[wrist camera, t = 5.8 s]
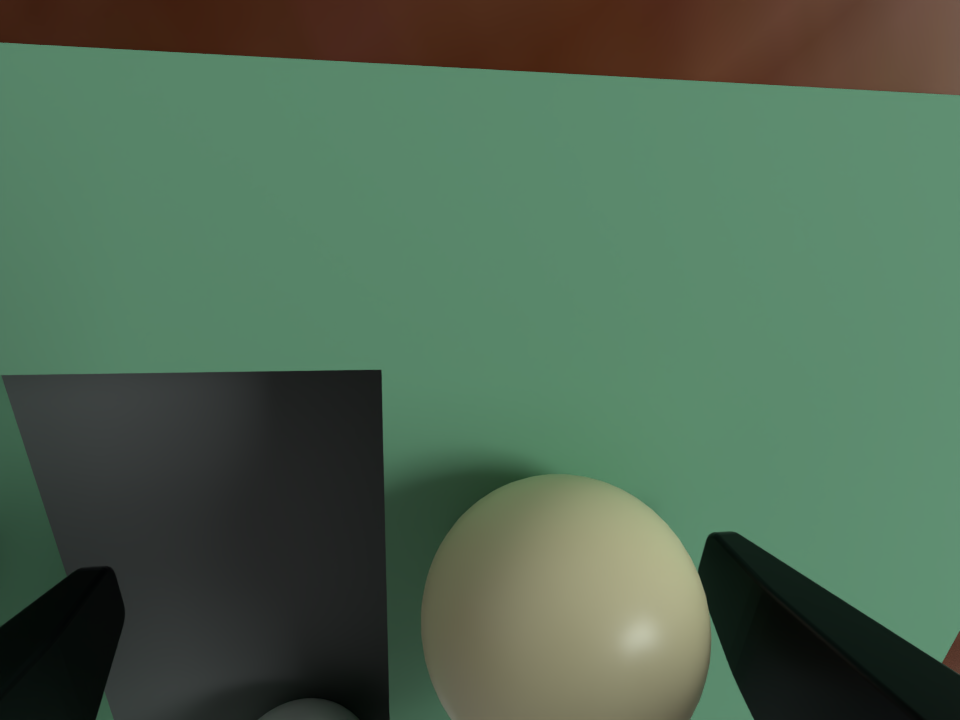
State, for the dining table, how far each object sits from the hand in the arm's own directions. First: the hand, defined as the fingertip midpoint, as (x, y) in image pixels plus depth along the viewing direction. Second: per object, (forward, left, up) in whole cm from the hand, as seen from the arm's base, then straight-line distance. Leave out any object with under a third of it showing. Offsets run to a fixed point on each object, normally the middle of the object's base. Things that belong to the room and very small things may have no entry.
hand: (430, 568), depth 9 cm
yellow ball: (-2, 0, +1) cm, 2 cm away
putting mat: (-1, +4, -5) cm, 7 cm away
